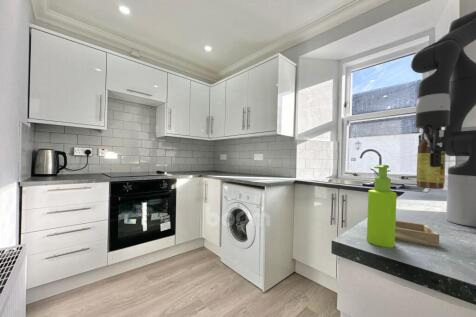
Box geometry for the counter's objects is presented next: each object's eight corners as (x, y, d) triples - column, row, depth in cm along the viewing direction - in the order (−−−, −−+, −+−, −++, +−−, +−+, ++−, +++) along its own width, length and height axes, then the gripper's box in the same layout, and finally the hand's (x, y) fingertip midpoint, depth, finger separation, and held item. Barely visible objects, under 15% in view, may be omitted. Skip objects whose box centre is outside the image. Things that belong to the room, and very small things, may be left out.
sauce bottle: (446, 190, 57) (449, 120, 57) (417, 188, 61) (419, 122, 61) (441, 188, 62) (444, 123, 62) (415, 185, 66) (417, 125, 66)
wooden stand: (382, 228, 63) (382, 218, 63) (424, 234, 59) (425, 224, 59) (388, 238, 55) (389, 227, 55) (438, 246, 50) (439, 234, 50)
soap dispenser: (361, 242, 51) (364, 164, 51) (370, 236, 56) (373, 164, 56) (389, 250, 47) (393, 165, 47) (397, 243, 51) (400, 165, 51)
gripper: (462, 104, 53) (460, 168, 53) (438, 115, 66) (436, 166, 66) (425, 107, 57) (423, 166, 57) (409, 117, 70) (407, 165, 70)
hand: (430, 166), depth 62 cm, fingers closed on sauce bottle, 6 cm apart
